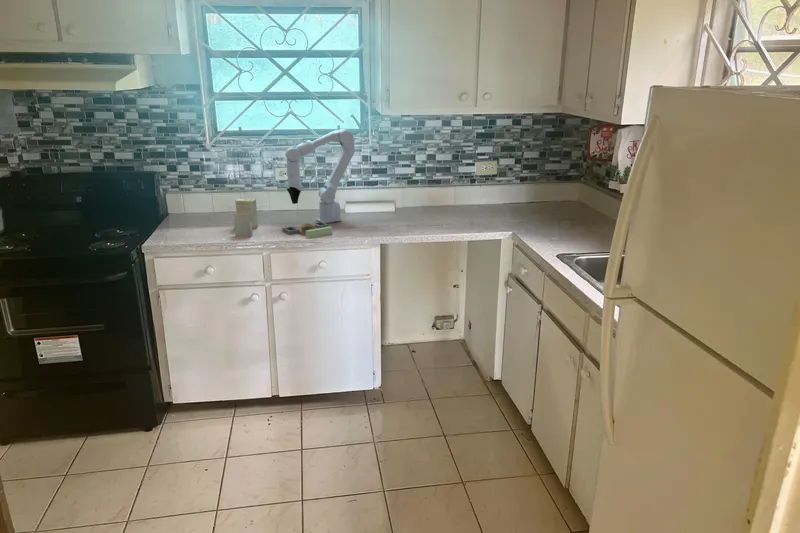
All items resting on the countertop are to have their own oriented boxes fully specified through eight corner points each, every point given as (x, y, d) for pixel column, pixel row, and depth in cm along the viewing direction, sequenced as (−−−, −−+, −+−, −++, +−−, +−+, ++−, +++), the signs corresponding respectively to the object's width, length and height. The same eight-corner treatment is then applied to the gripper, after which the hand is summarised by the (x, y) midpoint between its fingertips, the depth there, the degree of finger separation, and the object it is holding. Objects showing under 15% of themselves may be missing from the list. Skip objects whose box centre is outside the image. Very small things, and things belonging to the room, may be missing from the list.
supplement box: (258, 227, 276) (256, 199, 272) (253, 229, 272) (251, 201, 268) (242, 225, 278) (240, 197, 274) (237, 228, 274) (234, 199, 270)
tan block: (315, 231, 270) (314, 223, 269) (315, 234, 266) (315, 225, 264) (301, 232, 269) (301, 223, 268) (302, 235, 265) (301, 226, 263)
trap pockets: (321, 224, 281) (321, 218, 280) (339, 232, 269) (339, 225, 268) (282, 231, 270) (281, 224, 269) (299, 239, 257) (299, 233, 256)
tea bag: (251, 237, 260) (249, 214, 257) (235, 237, 260) (233, 214, 257) (252, 234, 264) (251, 212, 261) (237, 234, 264) (235, 212, 260)
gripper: (278, 172, 279) (279, 201, 284) (293, 177, 269) (294, 207, 273) (291, 171, 284) (293, 199, 288) (307, 176, 273) (308, 205, 277)
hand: (294, 203), depth 281 cm, fingers closed
